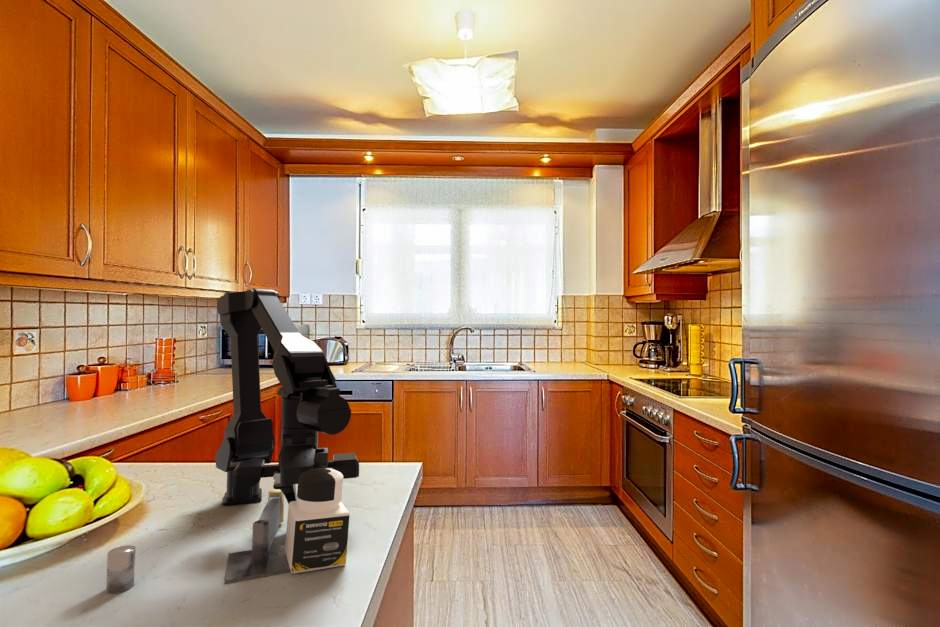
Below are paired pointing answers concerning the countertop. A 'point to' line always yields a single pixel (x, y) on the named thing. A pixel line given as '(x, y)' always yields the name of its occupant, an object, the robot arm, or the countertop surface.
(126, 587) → the post
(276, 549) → the peg on base plate
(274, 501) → the gate
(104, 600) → the countertop surface
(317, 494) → the medicine bottle
